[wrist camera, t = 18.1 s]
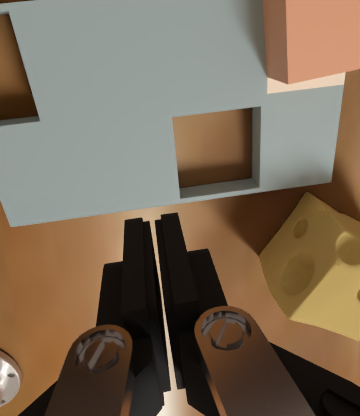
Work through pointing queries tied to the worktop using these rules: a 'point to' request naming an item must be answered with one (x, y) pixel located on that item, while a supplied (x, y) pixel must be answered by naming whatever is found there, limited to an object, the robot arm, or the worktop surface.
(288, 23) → the block
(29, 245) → the worktop surface
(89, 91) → the trap deck
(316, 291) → the cheese
